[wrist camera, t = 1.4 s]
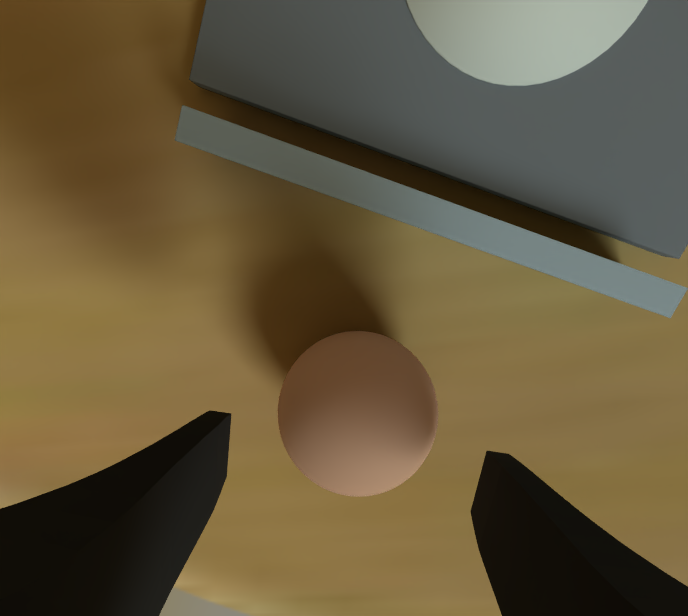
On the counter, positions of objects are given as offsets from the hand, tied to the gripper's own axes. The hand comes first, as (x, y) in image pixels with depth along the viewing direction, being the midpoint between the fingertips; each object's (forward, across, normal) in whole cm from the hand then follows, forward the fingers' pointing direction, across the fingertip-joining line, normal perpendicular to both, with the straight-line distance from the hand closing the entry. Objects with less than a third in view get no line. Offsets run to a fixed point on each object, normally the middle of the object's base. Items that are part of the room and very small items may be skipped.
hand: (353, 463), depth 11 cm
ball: (+3, 0, 0) cm, 3 cm away
